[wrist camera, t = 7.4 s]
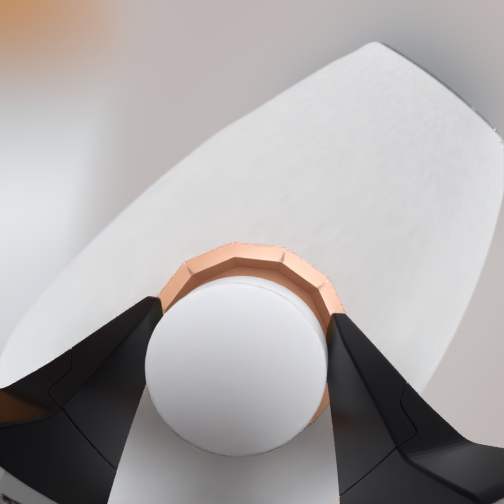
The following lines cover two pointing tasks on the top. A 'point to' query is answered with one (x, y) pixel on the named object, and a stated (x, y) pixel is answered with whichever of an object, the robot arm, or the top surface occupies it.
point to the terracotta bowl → (262, 266)
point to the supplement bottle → (237, 366)
